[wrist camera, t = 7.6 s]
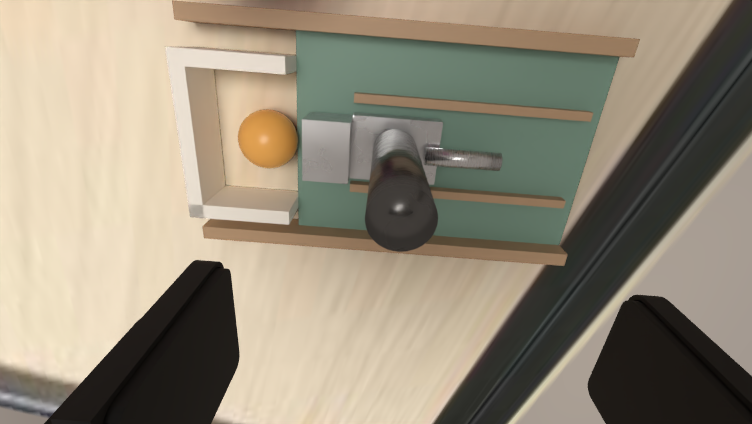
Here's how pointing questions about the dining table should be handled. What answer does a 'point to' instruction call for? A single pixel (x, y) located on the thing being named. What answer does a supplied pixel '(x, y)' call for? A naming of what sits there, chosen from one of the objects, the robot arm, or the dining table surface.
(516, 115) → the pitch
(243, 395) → the dining table surface
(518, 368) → the dining table surface
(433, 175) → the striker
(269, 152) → the ball
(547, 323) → the dining table surface
